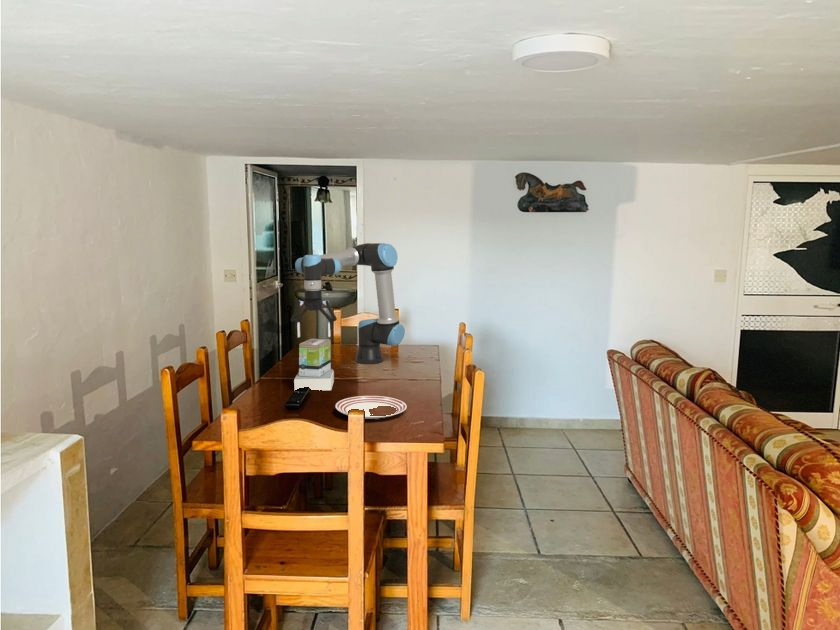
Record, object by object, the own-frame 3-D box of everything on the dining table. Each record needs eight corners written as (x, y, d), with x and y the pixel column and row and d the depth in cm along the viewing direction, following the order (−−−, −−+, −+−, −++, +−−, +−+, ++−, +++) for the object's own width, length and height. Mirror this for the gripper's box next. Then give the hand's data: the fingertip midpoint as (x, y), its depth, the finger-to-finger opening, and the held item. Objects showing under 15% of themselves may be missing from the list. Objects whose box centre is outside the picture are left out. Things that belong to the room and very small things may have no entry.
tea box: (320, 377, 251) (319, 344, 249) (298, 376, 253) (297, 343, 251) (331, 369, 266) (330, 338, 264) (310, 368, 267) (310, 337, 265)
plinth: (333, 381, 268) (333, 368, 268) (331, 390, 253) (330, 377, 252) (299, 381, 267) (299, 369, 266) (294, 390, 251) (294, 377, 251)
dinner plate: (406, 402, 235) (406, 394, 235) (406, 424, 208) (406, 415, 208) (339, 402, 235) (339, 394, 234) (331, 424, 207) (331, 415, 207)
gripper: (283, 290, 249) (284, 338, 253) (340, 290, 251) (341, 337, 254) (285, 289, 257) (287, 335, 260) (341, 288, 259) (342, 334, 262)
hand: (314, 336), depth 257 cm, fingers open, 13 cm apart
